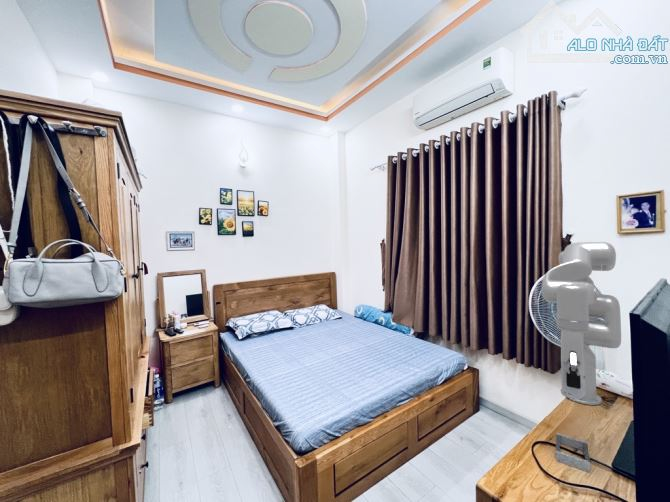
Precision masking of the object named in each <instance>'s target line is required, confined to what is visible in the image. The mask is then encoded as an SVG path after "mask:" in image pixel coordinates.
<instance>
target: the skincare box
mask: <svg viewBox="0 0 670 502" xmlns="http://www.w3.org/2000/svg"><path fill="white" fill-rule="evenodd" d="M570 356H571V352H570ZM569 363H571V361H569ZM576 364H578V362H576ZM570 367H571V365H570ZM576 368H577V367H576ZM560 369H561V370H560V373H561V377H560V378H561V388H562V394H563V395H565V396H568V397H571V398H574V399H577V400H578V399H580V398H582V397H583V396H584V395H585V368H584V355H583V362H582V365H581V366H580V365H579V375H580V378H581V388H580V389H577V388H572V387H568V386H567V381H566V372H567V363H565V362H564V363H562V362H561V361H560ZM562 394H561V395H562ZM563 395H562V396H563ZM565 396H564V397H565Z"/></svg>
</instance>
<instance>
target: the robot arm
mask: <svg viewBox="0 0 670 502" xmlns="http://www.w3.org/2000/svg"><path fill="white" fill-rule="evenodd" d="M616 253H617V252H616V248H615V247H614V245H612V244H611V243H609V242H606V241H596V242H593V241H591V242H588V241H587V242H573V243H570V244H567V245H566V247H565V248H564V250H562V251H561V252H559V254H558V265H556V266H555V267H552V268H551V269H549V270H548V271H547V272H546V273H545V274H544V276H543V280H542V284H541V289H540V290H541V297H542V298H543V300H545V302H547V303H554V304H556V328H557V329H558V330H560V363H561V362H562V363H564V362H565V363H567V372H566V381H567V386H568V387H572V388H577V389H580V388H581V378H580V375H579V365H580V366H581V365H582V362H583V355H584V368H585V395H584V396H583V397H582V398H580V399H578V400H577V399H574V398H571V397H568V396H565V395H563V394H562V387H561V389H560V394H561V395H562V396H563V397H564V398H566V399H568V398H569V399H568V400H571V401H573V402H575V403H578V404H582V405H588V406H598V405H600V404H601V405H602V403H603V402H602V397H601V396H599V395H598V394H597V358H596V355H595V353H594V351H593V350H592V349H591V348H590V347H589V346H594V347H599V348H600V347H601V348H607V349H618V348H619V347H621V343H622V323H621V322H622V321H621V318H622V317H621V307H620V302H619V299H617V297H615V296H614V295H611V294H604V293H603V294H600V293H599V291H598V288H596V286H595V285H594V284H595V283H594V281H593V280H592V278H591V277H590V276H591V274H592V272H593V271H595V272H597V271H598V272H599V271H600V272H609V271H610V272H611V271H612V270H613V269H614V268H615V266H616V262H617V254H616ZM590 318H595V319H602V320H603V321H596V320H590ZM570 352H571V356H570ZM569 361H571V363H569ZM576 362H578V364H576ZM570 365H571V367H570ZM576 367H577V368H576ZM567 397H568V398H567Z"/></svg>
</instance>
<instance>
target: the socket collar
mask: <svg viewBox="0 0 670 502" xmlns="http://www.w3.org/2000/svg"><path fill="white" fill-rule="evenodd" d="M555 435H556V437H555V461H556V462H560V463H562V464H564V465H568V466H569V467H573V468H576V469H579V470H581V471H584V472H587V473H591V463H590V461H591V460H590V454H589V447H588V441H584V440H581V439H578V438H574V437H571V436H568V435H565V434H562V433H558V432H556V434H555ZM560 444H561V445H565V446H568V447H570V448H574V449H577V450H580V451H583V454H584V456H583V457H584V459H582V458H580V457H576V456H573V455H571V454H567V453H564V452H562V451H561V449H560V448H561V447H560Z"/></svg>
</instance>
